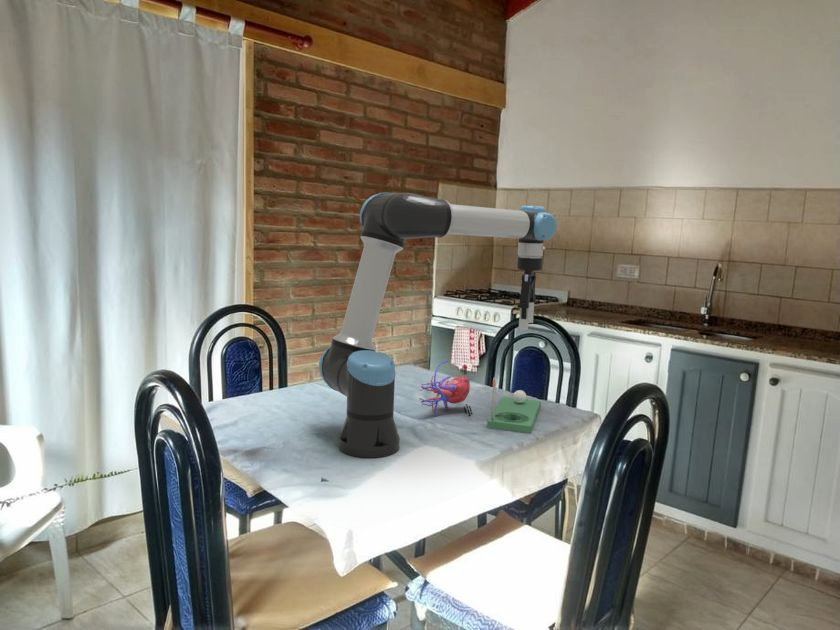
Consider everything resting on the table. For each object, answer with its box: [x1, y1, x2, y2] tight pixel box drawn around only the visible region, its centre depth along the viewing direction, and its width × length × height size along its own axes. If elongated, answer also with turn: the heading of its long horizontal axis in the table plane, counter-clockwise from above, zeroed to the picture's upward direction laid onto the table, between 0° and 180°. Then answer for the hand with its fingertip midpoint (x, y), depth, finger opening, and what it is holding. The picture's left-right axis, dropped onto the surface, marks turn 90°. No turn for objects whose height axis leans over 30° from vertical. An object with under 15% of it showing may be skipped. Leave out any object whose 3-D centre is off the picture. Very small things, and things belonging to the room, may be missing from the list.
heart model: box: [418, 360, 473, 418], centre depth 191 cm, size 17×10×20 cm
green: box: [486, 377, 542, 434], centre depth 188 cm, size 27×12×14 cm, turn 164°
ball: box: [512, 389, 527, 403], centre depth 197 cm, size 4×4×4 cm
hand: (526, 326), depth 200 cm, fingers open, 12 cm apart
